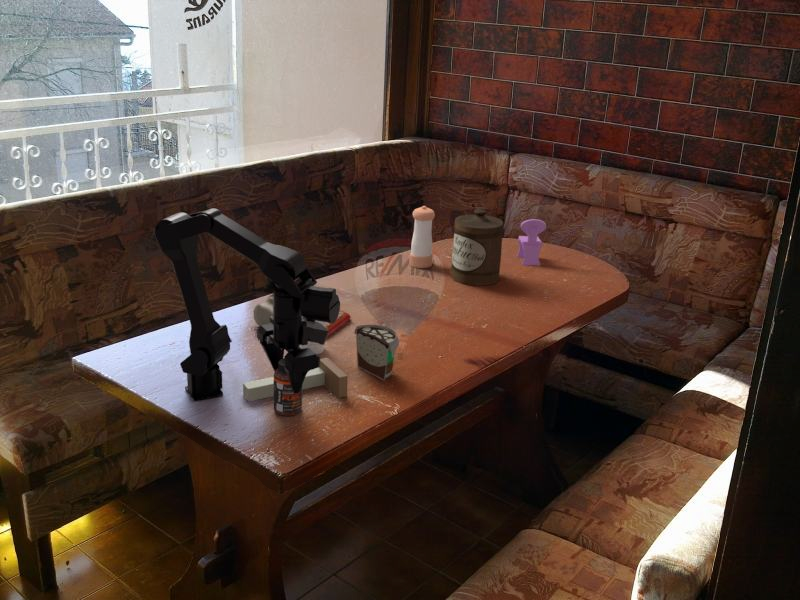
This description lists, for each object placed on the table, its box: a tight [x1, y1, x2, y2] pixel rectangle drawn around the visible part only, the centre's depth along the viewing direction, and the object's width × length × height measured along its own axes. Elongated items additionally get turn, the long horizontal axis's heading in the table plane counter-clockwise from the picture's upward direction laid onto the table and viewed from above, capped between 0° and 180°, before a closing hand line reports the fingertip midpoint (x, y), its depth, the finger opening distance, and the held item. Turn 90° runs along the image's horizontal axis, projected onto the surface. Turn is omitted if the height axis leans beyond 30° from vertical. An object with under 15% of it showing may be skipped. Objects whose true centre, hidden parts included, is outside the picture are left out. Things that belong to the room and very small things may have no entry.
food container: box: [353, 324, 400, 382], centre depth 193 cm, size 12×6×10 cm, turn 44°
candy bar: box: [326, 310, 352, 338], centre depth 216 cm, size 16×4×3 cm, turn 156°
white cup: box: [299, 316, 327, 355], centre depth 202 cm, size 8×8×10 cm
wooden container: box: [450, 207, 504, 286], centre depth 254 cm, size 15×15×22 cm
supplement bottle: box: [273, 357, 303, 417], centre depth 174 cm, size 6×6×11 cm
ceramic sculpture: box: [252, 293, 273, 327], centre depth 217 cm, size 11×9×15 cm
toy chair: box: [516, 218, 547, 267], centre depth 273 cm, size 8×9×15 cm
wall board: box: [242, 357, 348, 402], centre depth 181 cm, size 20×10×5 cm, turn 121°
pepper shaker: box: [409, 205, 436, 269], centre depth 263 cm, size 7×7×19 cm
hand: (287, 383), depth 173 cm, fingers open, 9 cm apart
